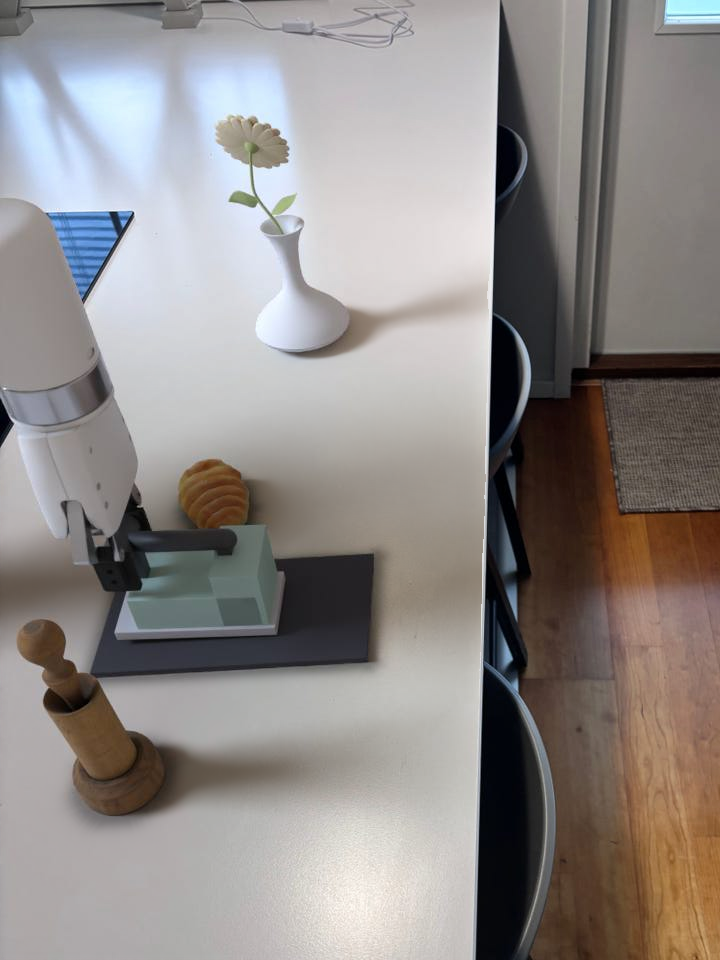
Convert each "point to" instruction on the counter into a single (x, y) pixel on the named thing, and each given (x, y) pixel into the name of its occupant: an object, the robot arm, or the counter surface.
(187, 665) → the iron mat
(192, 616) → the iron
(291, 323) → the flower in vase
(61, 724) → the mortar and pestle
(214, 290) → the counter surface
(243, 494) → the pastry
